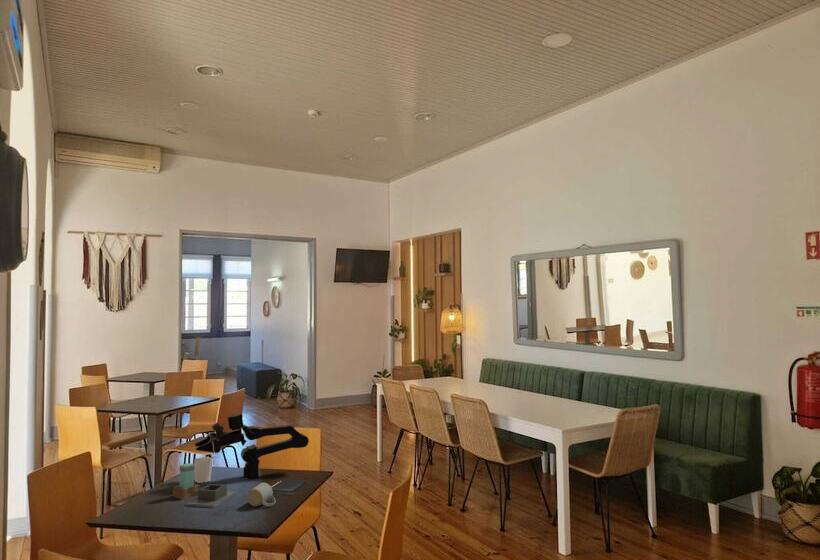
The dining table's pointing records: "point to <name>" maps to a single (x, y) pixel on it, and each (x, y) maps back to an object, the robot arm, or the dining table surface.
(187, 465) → the plug
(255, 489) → the ceramic mug
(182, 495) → the holster
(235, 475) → the dining table surface
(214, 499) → the port board
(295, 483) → the grey flat slab
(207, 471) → the white cup
